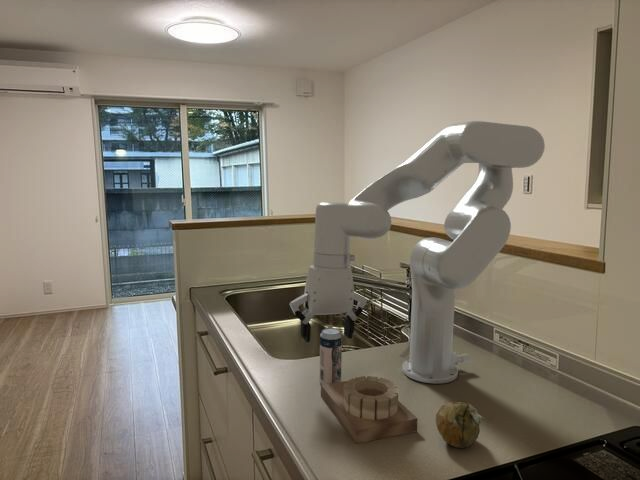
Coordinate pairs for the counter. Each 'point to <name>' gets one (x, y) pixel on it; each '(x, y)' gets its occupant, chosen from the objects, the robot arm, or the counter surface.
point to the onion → (458, 423)
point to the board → (367, 425)
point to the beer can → (330, 356)
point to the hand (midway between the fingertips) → (327, 338)
